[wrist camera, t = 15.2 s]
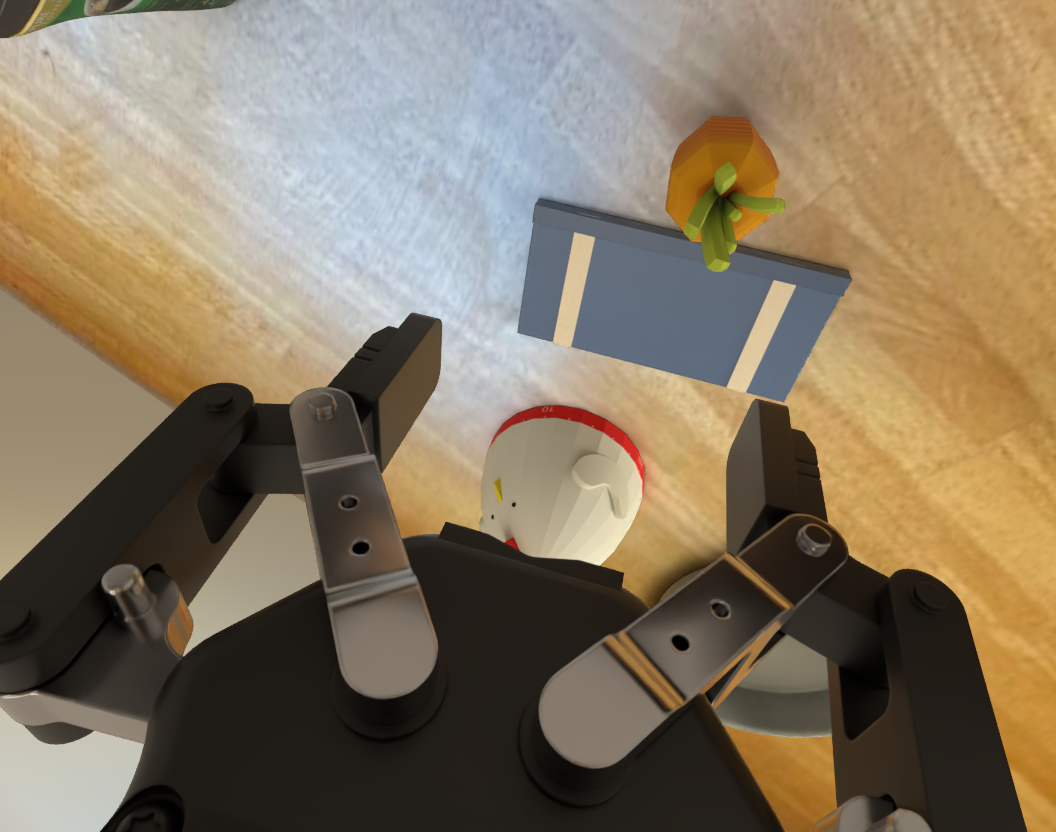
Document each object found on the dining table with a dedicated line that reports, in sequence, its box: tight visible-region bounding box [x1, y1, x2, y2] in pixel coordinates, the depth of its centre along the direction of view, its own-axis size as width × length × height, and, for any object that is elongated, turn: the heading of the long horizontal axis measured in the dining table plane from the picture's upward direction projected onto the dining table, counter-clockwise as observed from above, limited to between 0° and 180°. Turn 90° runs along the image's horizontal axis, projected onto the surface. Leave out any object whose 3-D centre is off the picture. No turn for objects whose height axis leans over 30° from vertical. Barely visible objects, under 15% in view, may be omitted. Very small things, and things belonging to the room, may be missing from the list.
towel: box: [518, 199, 852, 402], centre depth 41 cm, size 10×20×1 cm, turn 82°
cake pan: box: [659, 567, 832, 738], centre depth 59 cm, size 25×25×4 cm
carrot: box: [666, 117, 785, 272], centre depth 29 cm, size 5×5×15 cm
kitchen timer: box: [479, 406, 644, 566], centre depth 48 cm, size 14×14×15 cm
